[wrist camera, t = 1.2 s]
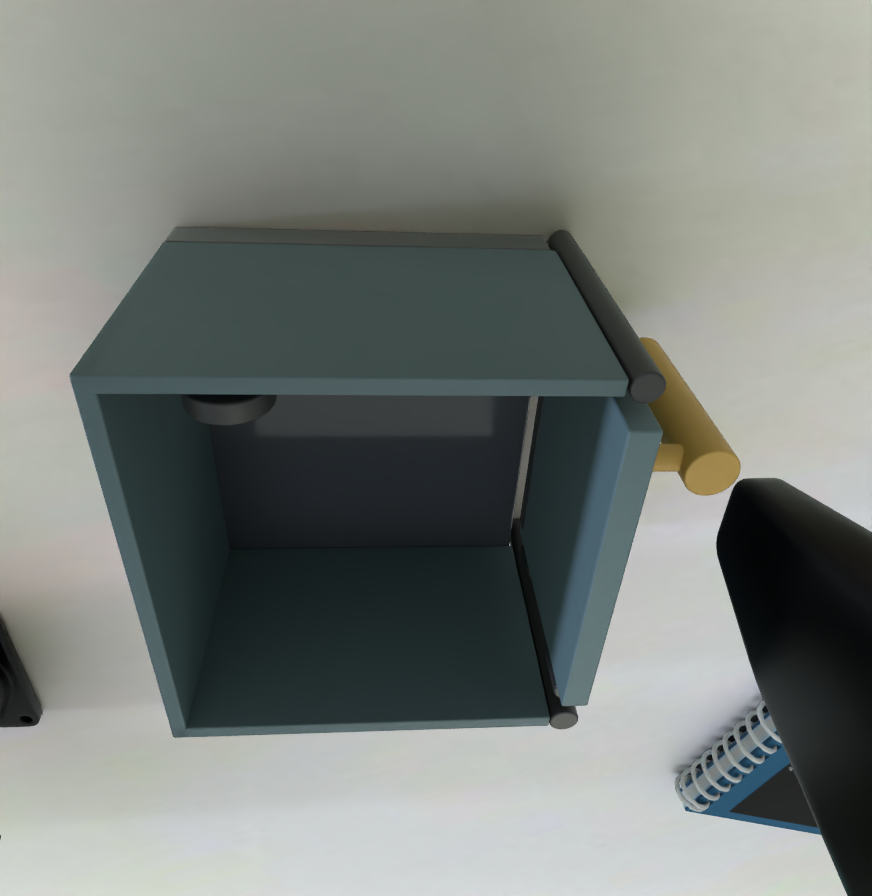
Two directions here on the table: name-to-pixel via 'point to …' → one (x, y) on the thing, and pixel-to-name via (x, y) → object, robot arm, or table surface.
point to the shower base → (370, 445)
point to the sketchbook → (748, 779)
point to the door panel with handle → (603, 506)
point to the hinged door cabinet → (334, 569)
